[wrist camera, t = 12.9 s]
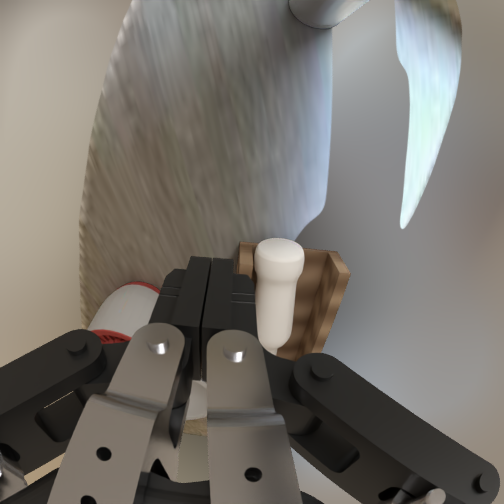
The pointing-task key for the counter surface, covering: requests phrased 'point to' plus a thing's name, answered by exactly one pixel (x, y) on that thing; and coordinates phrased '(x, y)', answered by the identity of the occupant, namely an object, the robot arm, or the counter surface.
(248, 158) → the counter surface
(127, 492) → the robot arm
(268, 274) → the bottle
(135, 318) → the citrus juicer
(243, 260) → the brown wooden open box
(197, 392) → the soup bowl
